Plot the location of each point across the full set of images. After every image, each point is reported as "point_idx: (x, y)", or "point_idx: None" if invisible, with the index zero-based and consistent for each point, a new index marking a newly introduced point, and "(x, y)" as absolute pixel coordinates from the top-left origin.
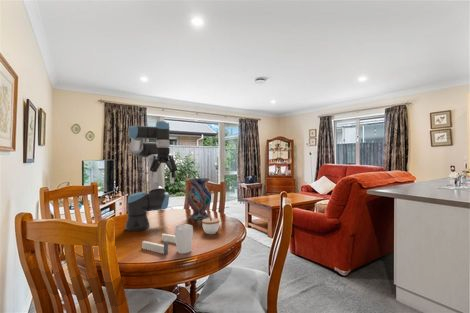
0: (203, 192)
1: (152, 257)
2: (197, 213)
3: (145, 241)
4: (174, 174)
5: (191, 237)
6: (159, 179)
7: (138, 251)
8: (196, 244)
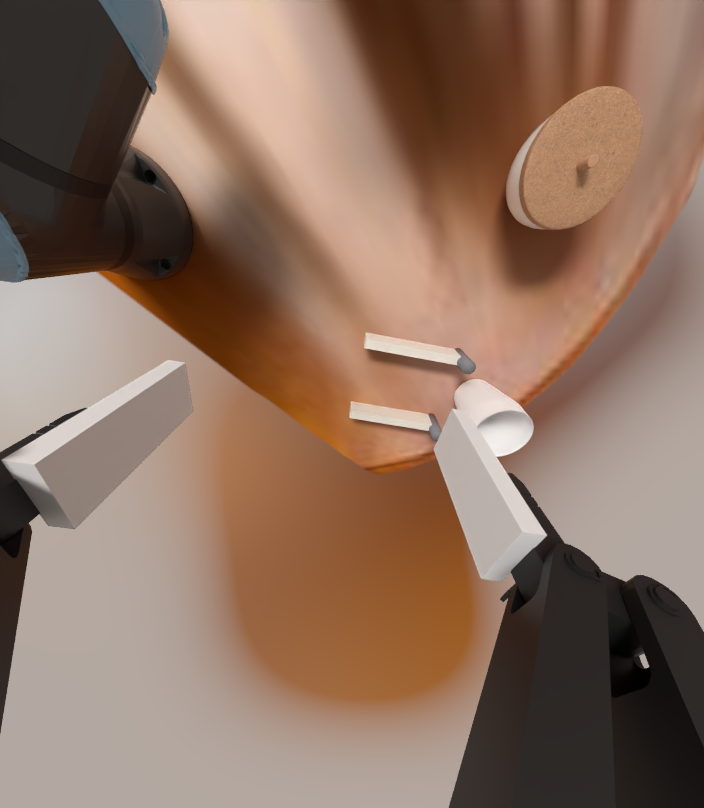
0: None
1: (409, 439)
2: None
3: (357, 414)
4: (538, 518)
5: (514, 417)
6: None
7: (353, 422)
8: (495, 343)
